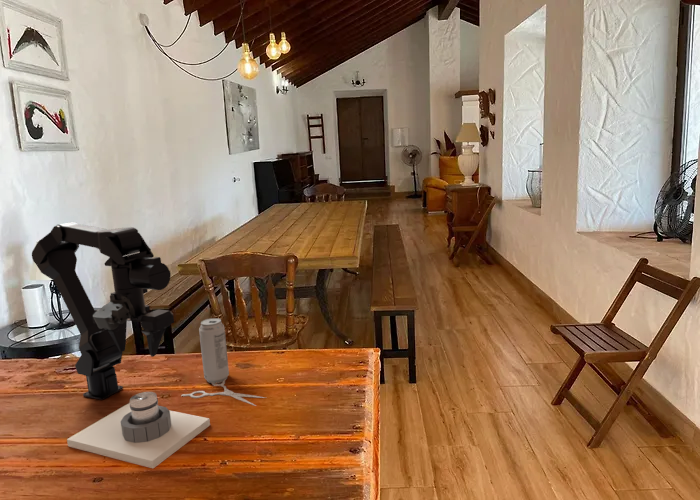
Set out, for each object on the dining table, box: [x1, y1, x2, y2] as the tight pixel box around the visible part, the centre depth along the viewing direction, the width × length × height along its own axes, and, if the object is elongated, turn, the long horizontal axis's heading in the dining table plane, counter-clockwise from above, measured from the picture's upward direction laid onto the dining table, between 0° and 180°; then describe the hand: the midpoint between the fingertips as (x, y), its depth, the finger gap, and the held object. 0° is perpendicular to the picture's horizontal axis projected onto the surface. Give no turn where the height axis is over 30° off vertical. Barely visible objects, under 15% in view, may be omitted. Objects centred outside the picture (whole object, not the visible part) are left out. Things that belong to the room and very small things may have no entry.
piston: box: [129, 391, 160, 425], centre depth 106 cm, size 5×5×7 cm
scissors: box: [180, 380, 266, 407], centre depth 124 cm, size 11×1×20 cm
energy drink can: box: [198, 317, 230, 384], centre depth 131 cm, size 6×6×15 cm
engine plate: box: [66, 402, 211, 469], centre depth 107 cm, size 22×16×4 cm
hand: (137, 353), depth 119 cm, fingers open, 9 cm apart
